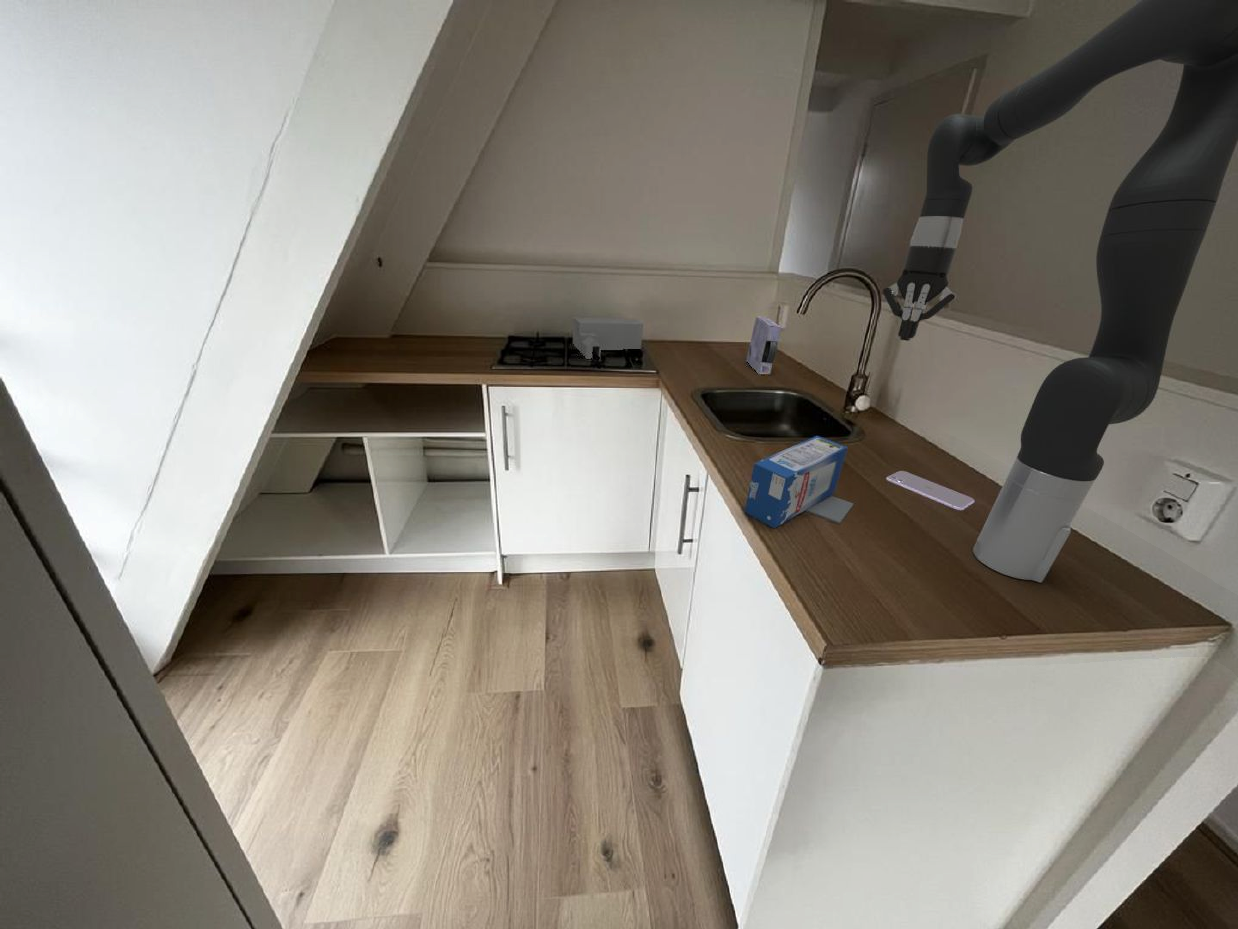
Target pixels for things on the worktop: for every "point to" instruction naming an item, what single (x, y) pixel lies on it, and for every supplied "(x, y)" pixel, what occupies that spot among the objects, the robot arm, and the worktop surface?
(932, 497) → the mobile phone
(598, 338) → the grey toy box truck
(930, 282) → the robot arm
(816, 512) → the mat
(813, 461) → the milk carton
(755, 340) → the cake pan box
